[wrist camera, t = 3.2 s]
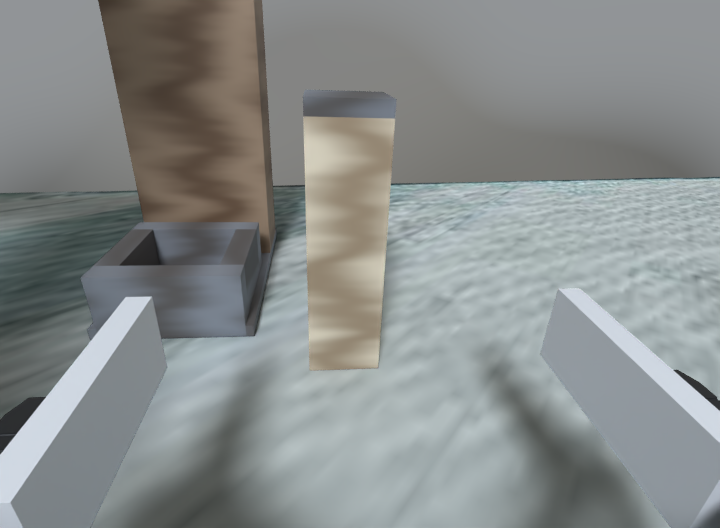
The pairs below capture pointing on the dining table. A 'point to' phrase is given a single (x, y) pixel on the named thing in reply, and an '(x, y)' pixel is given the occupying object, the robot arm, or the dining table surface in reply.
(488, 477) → the dining table surface
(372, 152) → the beige wooden tall block
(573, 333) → the robot arm
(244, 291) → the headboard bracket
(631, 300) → the dining table surface
